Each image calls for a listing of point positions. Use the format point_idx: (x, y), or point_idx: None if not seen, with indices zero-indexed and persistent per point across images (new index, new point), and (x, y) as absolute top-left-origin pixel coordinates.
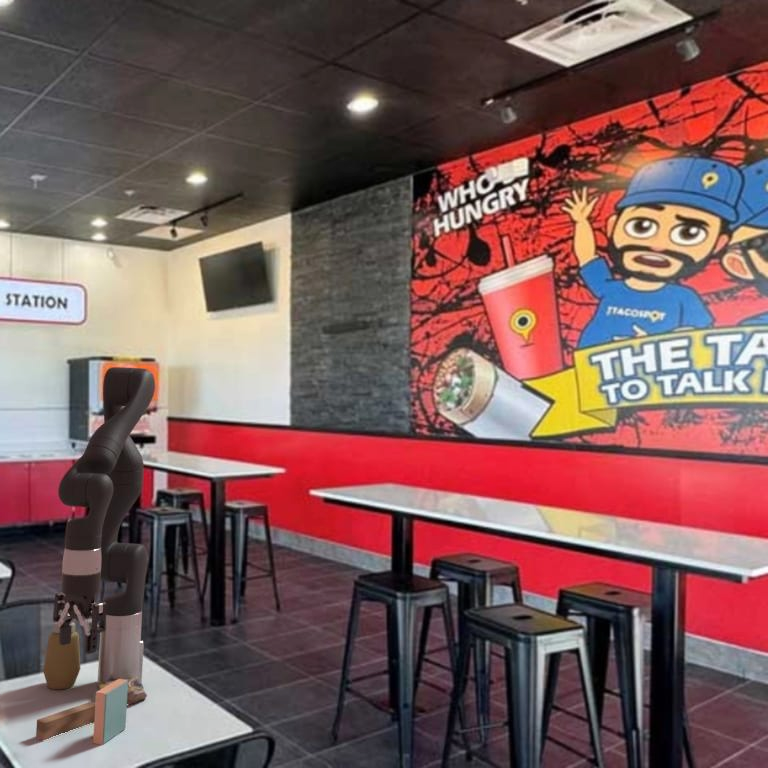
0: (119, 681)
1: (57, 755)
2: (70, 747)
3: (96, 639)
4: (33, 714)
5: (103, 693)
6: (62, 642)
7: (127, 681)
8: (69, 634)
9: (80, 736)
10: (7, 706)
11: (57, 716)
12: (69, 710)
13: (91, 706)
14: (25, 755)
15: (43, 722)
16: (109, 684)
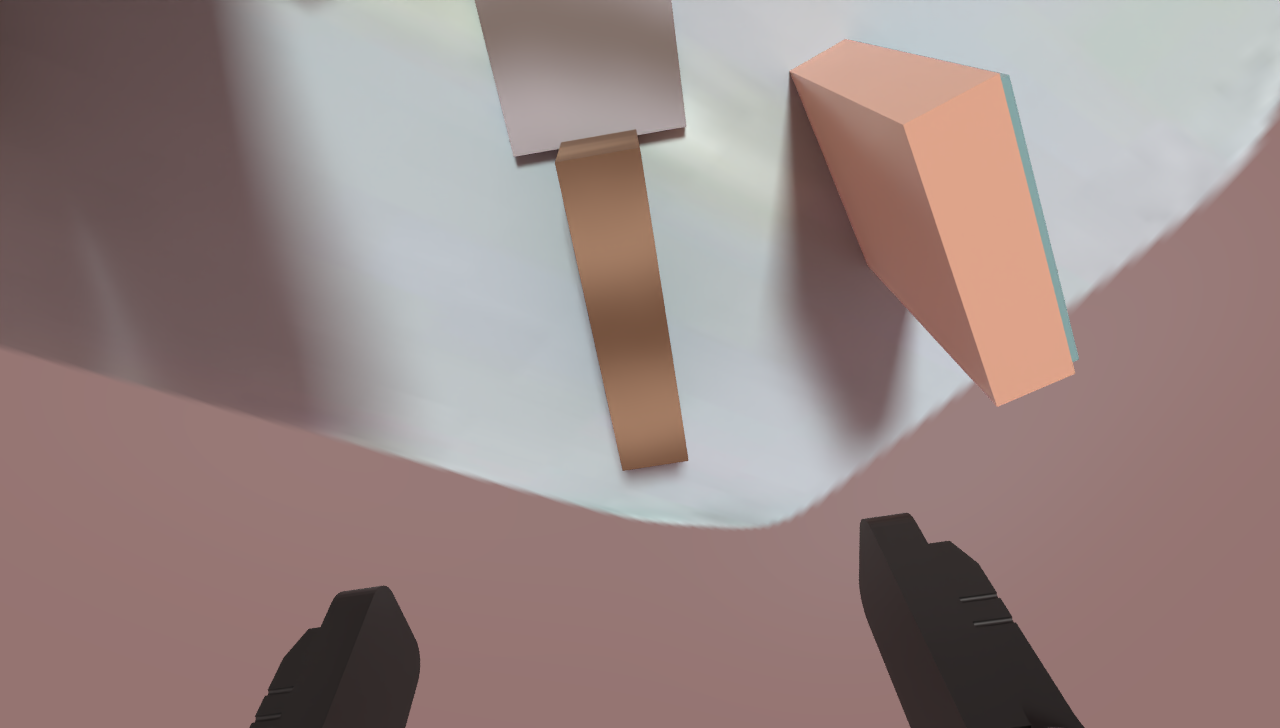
0: (967, 159)
1: (849, 421)
2: (823, 356)
3: (1038, 673)
4: (334, 333)
5: (1060, 377)
6: (409, 678)
7: (1004, 79)
8: (352, 695)
9: (750, 275)
10: (156, 386)
11: (651, 391)
12: (612, 314)
13: (638, 187)
14: (754, 498)
15: (676, 462)
16: (953, 263)
